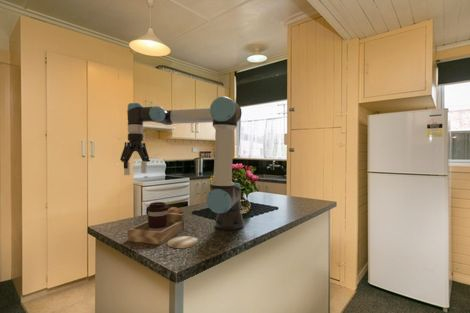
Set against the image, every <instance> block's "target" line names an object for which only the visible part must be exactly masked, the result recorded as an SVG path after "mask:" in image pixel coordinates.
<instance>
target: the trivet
mask: <svg viewBox="0 0 470 313" xmlns="http://www.w3.org/2000/svg"><path fill="white" fill-rule="evenodd" d="M166 242H167V246H168V247H170V248H173V249H186V248H187V249H188V248H192V247H194V246H196V245H198V244H199V238H197V237H194V236H189V235H188V236H186V235H185V236H183V235H182V236H177V237H176V236H175V237H172V238H171V239H169V240H167V241H166Z"/></svg>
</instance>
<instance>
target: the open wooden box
mask: <svg viewBox="0 0 470 313" xmlns="http://www.w3.org/2000/svg"><path fill="white" fill-rule="evenodd" d="M167 214H168V215H167V226H166V229H164V230H162V231H160V232H159V231H149V226H148V220H146V221H144V222H142V223H140V224H137V225H135V226H133V227H131V228H128V229H127V241H128V242H136V243H142V244H143V243H145V244H154V245H163V244H165V243H166V242H168V240H170V239H172V238H175V237H176V236H177V235H178V234H180V233H182V232H183V231H184V230H185V214H184V213H183V214H175V213H167Z"/></svg>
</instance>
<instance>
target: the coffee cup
mask: <svg viewBox="0 0 470 313" xmlns="http://www.w3.org/2000/svg"><path fill="white" fill-rule="evenodd" d="M168 209H169V204H166V203H165V202H163V201H157V202H156V201H155V202H151V203H150V204H149V205H148V206H146V211H147V213H148V214H147V221H148V226H149V231H159V232H160V231H162V230H164V229H166V226H167V215H168V214H167V210H168Z"/></svg>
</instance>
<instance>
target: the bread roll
mask: <svg viewBox="0 0 470 313" xmlns="http://www.w3.org/2000/svg"><path fill="white" fill-rule="evenodd" d="M167 213H175V214H184V212H183V211H182V210H181V209H180V208H178V207H175V206H174V207H173V206H171V207H170V208H169V209H168V210H167Z"/></svg>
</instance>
